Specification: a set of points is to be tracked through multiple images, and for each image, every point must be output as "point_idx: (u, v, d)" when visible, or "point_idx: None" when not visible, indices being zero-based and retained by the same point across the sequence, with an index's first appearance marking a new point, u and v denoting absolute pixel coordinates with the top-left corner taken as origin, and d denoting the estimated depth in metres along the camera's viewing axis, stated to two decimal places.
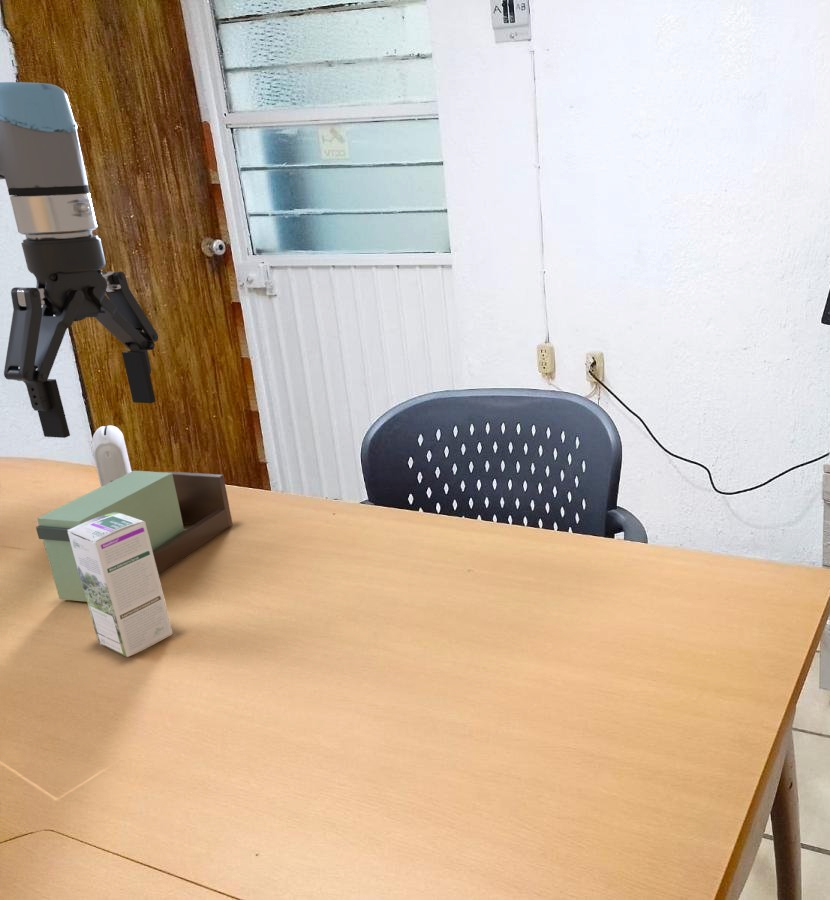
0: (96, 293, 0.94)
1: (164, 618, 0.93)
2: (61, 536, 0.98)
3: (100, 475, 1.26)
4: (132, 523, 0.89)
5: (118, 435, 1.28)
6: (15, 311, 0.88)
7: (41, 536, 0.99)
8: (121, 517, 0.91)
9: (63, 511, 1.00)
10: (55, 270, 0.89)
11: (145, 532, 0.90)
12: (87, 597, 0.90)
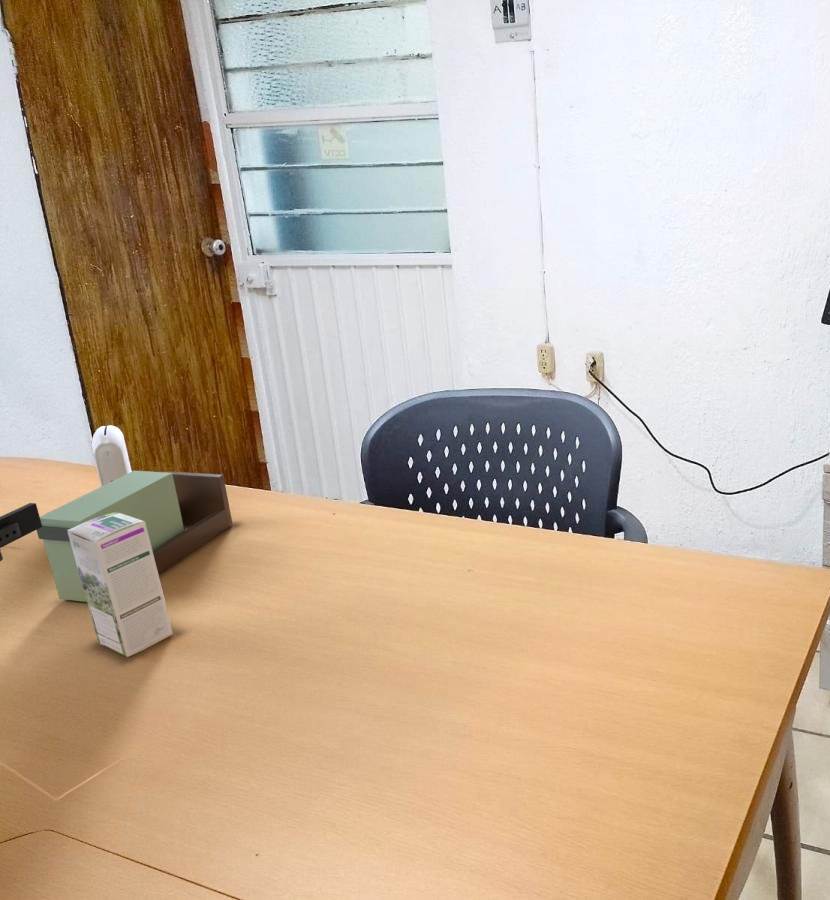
0: None
1: (165, 618, 0.93)
2: (61, 536, 0.98)
3: (100, 475, 1.26)
4: (132, 523, 0.89)
5: (118, 435, 1.28)
6: None
7: (41, 536, 0.99)
8: (120, 517, 0.91)
9: (63, 511, 1.00)
10: None
11: (145, 532, 0.90)
12: (87, 597, 0.90)
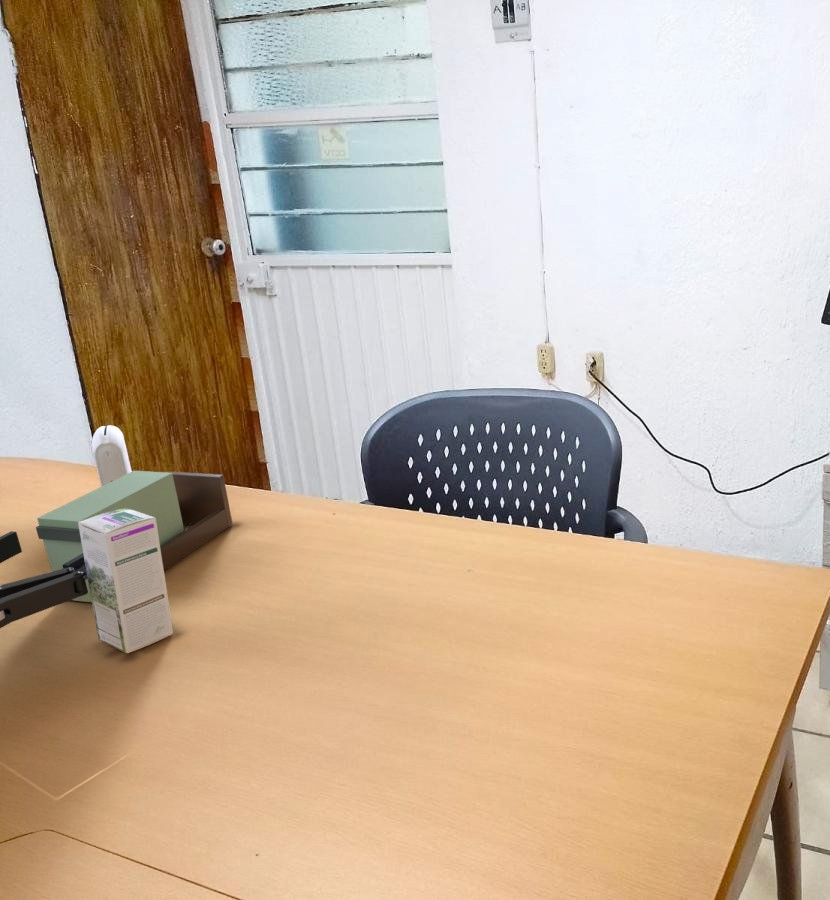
0: None
1: (166, 617, 0.94)
2: (61, 536, 0.98)
3: (100, 475, 1.26)
4: (143, 518, 0.90)
5: (118, 435, 1.28)
6: None
7: (41, 536, 0.99)
8: (131, 512, 0.92)
9: (63, 511, 1.00)
10: None
11: (155, 528, 0.91)
12: (91, 591, 0.91)
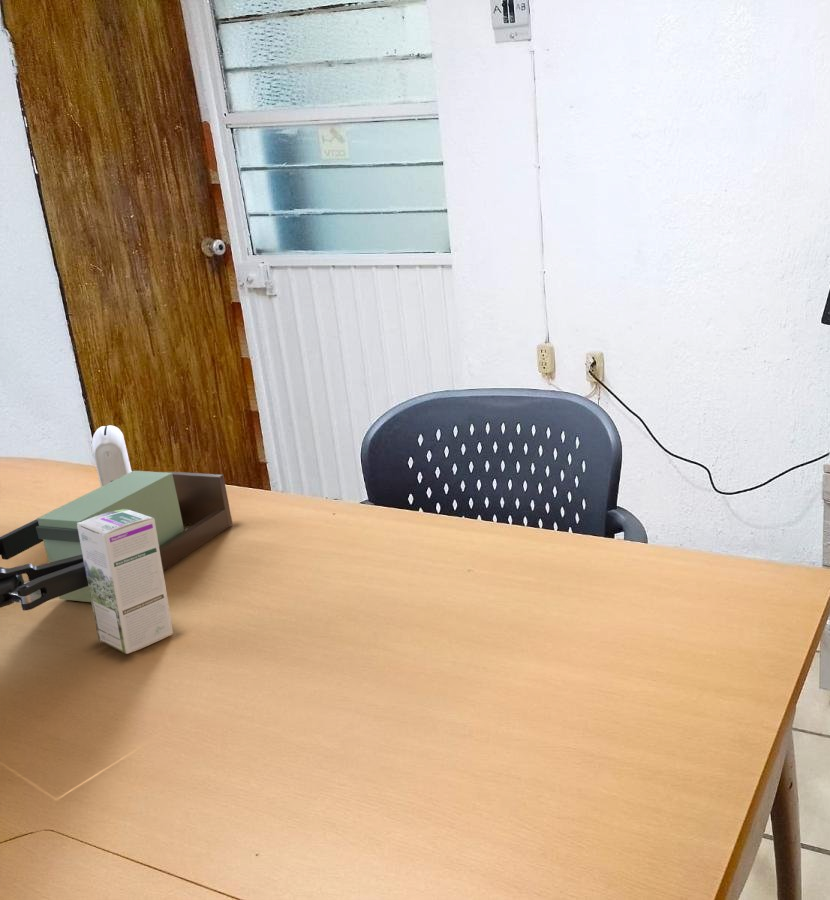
0: None
1: (166, 617, 0.94)
2: (61, 536, 0.98)
3: (100, 475, 1.26)
4: (141, 519, 0.90)
5: (118, 435, 1.28)
6: None
7: (41, 536, 0.99)
8: (130, 513, 0.92)
9: (63, 511, 1.00)
10: None
11: (153, 529, 0.91)
12: (91, 591, 0.91)
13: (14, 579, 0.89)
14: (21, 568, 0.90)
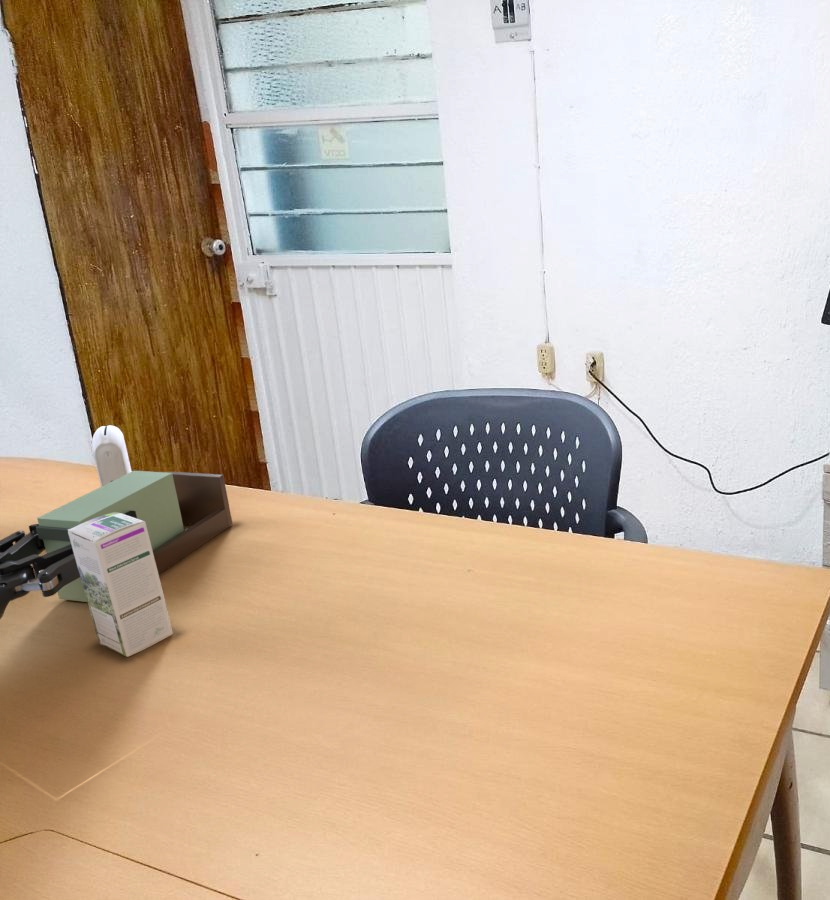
0: None
1: (165, 618, 0.93)
2: (61, 536, 0.98)
3: (100, 475, 1.26)
4: (132, 523, 0.89)
5: (118, 435, 1.28)
6: None
7: (41, 536, 0.99)
8: (121, 516, 0.91)
9: (63, 511, 1.00)
10: None
11: (145, 532, 0.90)
12: (87, 596, 0.91)
13: (25, 572, 0.91)
14: (30, 558, 0.92)
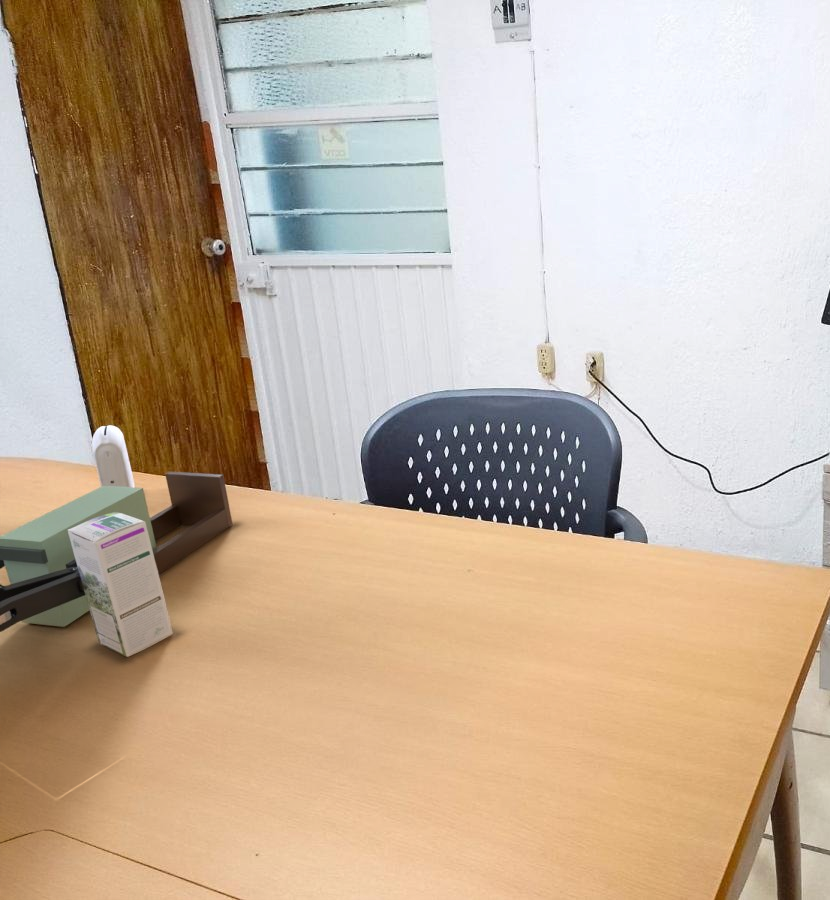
0: None
1: (165, 618, 0.93)
2: (22, 557, 0.93)
3: (100, 475, 1.26)
4: (132, 523, 0.89)
5: (118, 435, 1.28)
6: None
7: (1, 557, 0.94)
8: (121, 516, 0.91)
9: (25, 530, 0.95)
10: None
11: (145, 532, 0.90)
12: (87, 596, 0.90)
13: None
14: None
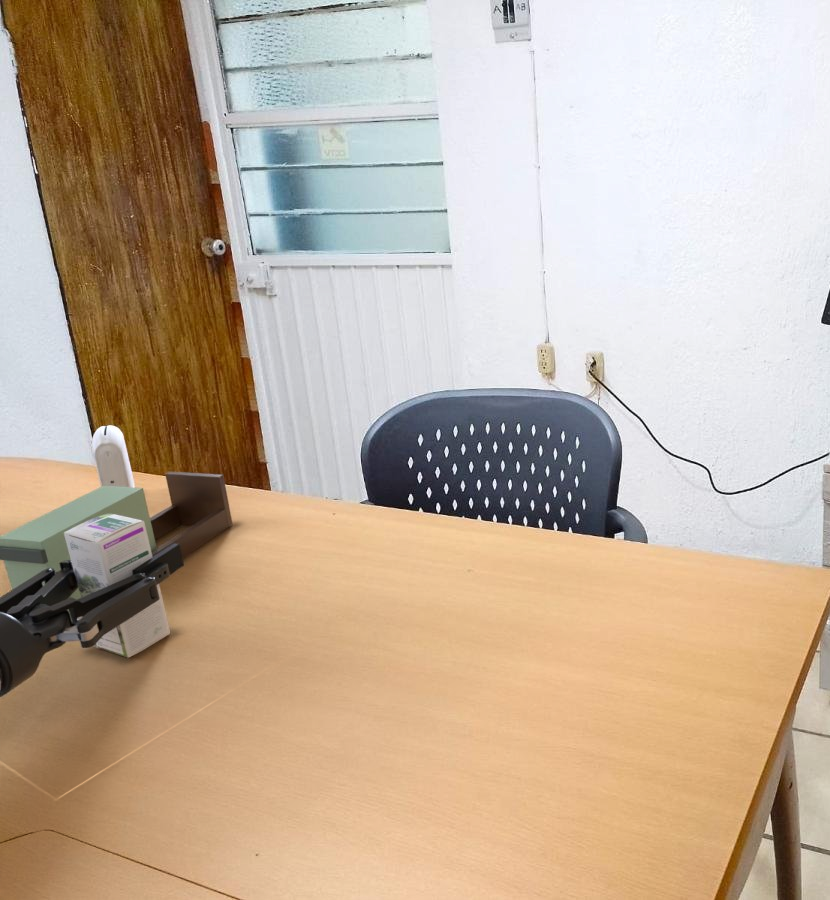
0: None
1: (163, 618, 0.94)
2: (22, 557, 0.93)
3: (100, 475, 1.26)
4: (132, 523, 0.89)
5: (118, 435, 1.28)
6: None
7: (1, 557, 0.94)
8: (117, 517, 0.90)
9: (25, 530, 0.95)
10: None
11: (144, 532, 0.90)
12: None
13: (62, 619, 0.80)
14: (66, 603, 0.81)
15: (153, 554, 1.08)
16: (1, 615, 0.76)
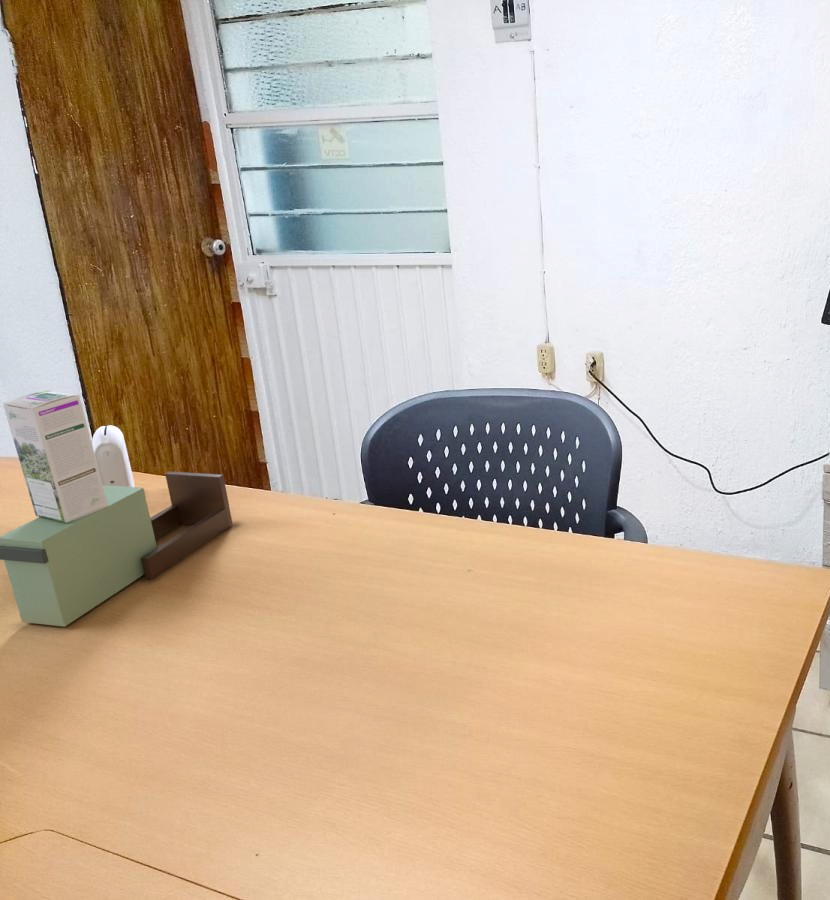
0: None
1: (100, 490, 1.00)
2: (22, 557, 0.93)
3: (100, 475, 1.26)
4: (67, 396, 0.95)
5: (118, 435, 1.28)
6: None
7: (1, 557, 0.94)
8: (54, 393, 0.97)
9: (25, 530, 0.95)
10: None
11: (79, 405, 0.97)
12: (24, 468, 0.96)
13: None
14: None
15: (153, 554, 1.08)
16: None
